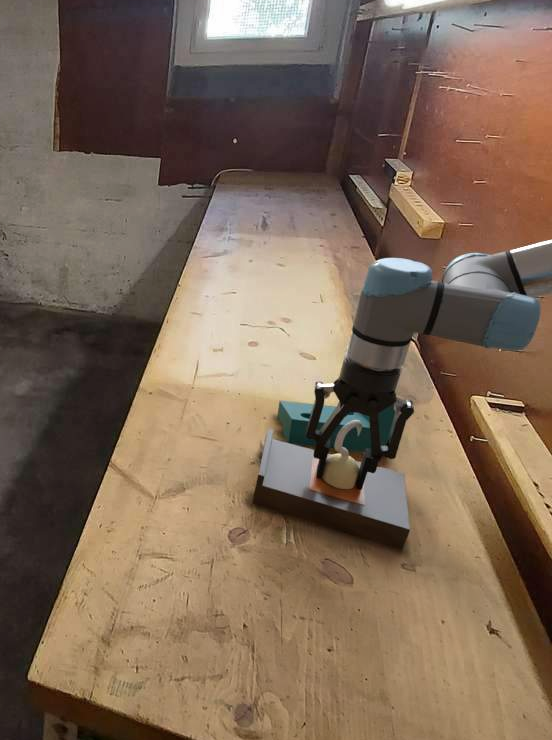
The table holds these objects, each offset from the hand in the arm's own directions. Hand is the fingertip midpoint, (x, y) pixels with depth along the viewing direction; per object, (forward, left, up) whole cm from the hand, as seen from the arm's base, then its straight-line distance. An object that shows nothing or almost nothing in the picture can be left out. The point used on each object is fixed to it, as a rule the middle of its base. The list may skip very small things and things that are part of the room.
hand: (338, 478), depth 95 cm
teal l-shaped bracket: (+1, -20, -5) cm, 21 cm away
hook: (0, 0, 0) cm, 1 cm away
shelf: (+1, 0, -5) cm, 5 cm away
